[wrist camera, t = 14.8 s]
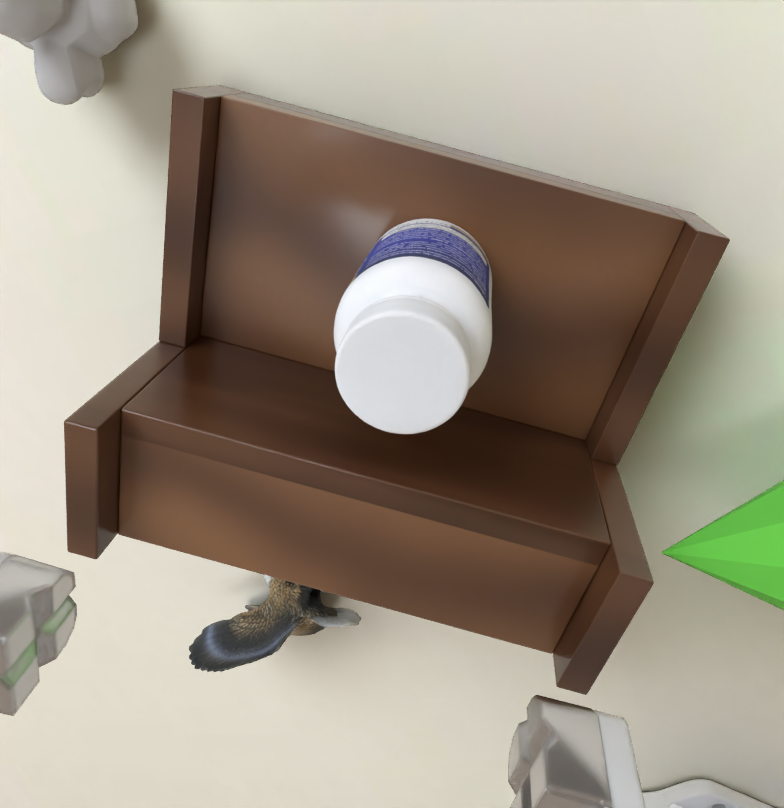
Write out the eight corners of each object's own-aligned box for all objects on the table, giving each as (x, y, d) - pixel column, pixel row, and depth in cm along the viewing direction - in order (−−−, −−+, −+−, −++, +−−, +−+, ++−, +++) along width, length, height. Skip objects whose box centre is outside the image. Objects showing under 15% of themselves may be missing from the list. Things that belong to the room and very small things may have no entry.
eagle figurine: (243, 503, 35) (171, 615, 38) (284, 604, 30) (197, 726, 33) (349, 523, 40) (278, 621, 43) (398, 612, 35) (315, 717, 38)
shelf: (219, 84, 26) (53, 97, 16) (695, 213, 26) (822, 305, 16) (190, 408, 34) (66, 552, 24) (558, 509, 34) (586, 695, 24)
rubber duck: (141, -94, 24) (-2, -158, 17) (169, 101, 27) (58, 114, 20) (8, -90, 25) (-183, -151, 18) (51, 99, 28) (-98, 112, 21)
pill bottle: (351, 229, 25) (290, 301, 18) (482, 205, 24) (479, 271, 17) (378, 349, 28) (335, 461, 20) (499, 333, 27) (504, 444, 19)
